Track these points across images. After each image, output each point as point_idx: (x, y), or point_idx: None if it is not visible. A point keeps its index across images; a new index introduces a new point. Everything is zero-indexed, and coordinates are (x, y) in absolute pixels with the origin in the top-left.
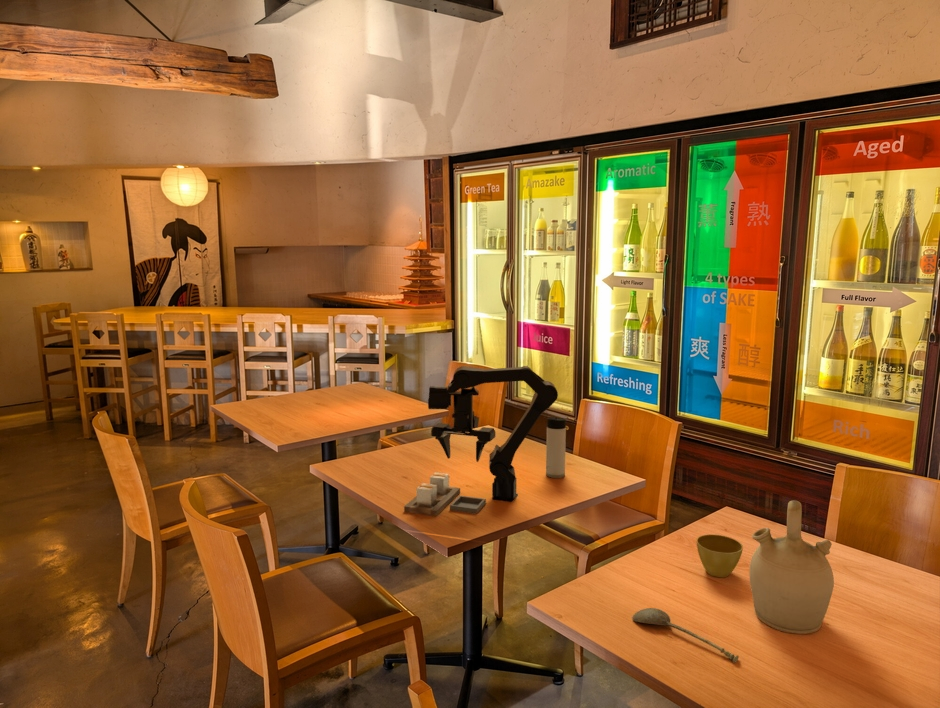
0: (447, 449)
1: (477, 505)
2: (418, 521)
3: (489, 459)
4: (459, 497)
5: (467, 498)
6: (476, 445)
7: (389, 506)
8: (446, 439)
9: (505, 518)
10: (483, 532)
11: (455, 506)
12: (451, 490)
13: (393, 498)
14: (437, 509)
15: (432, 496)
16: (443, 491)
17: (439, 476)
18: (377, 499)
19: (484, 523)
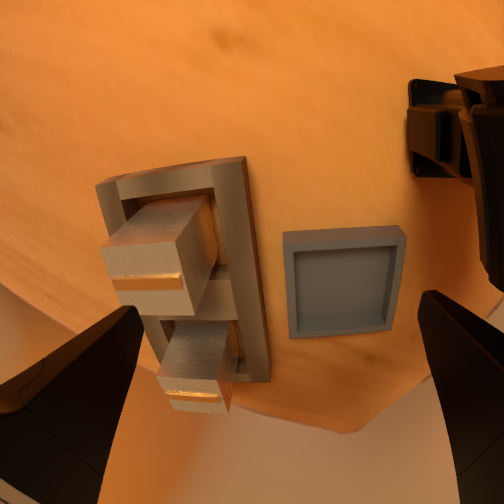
0: (113, 411)
1: (373, 258)
2: (238, 389)
3: (489, 134)
4: (291, 264)
5: (324, 246)
6: (462, 498)
7: None
8: (62, 486)
9: (466, 300)
10: (414, 380)
11: (311, 336)
12: (218, 211)
13: (75, 291)
14: (268, 375)
15: (230, 381)
16: (209, 275)
17: (156, 295)
18: (57, 308)
19: (414, 347)
